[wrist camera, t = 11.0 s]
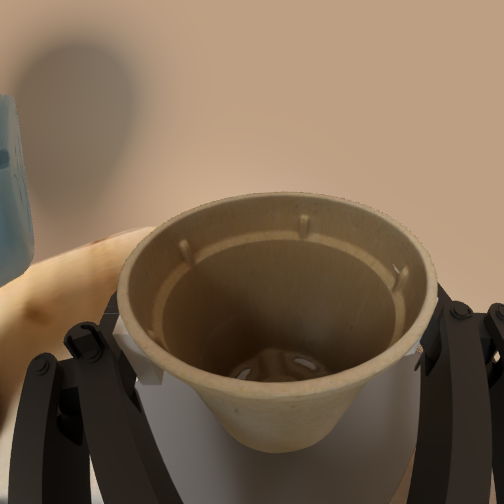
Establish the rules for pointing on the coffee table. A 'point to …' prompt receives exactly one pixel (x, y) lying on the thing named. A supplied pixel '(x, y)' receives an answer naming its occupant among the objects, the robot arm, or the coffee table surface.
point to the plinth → (296, 462)
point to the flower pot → (278, 308)
